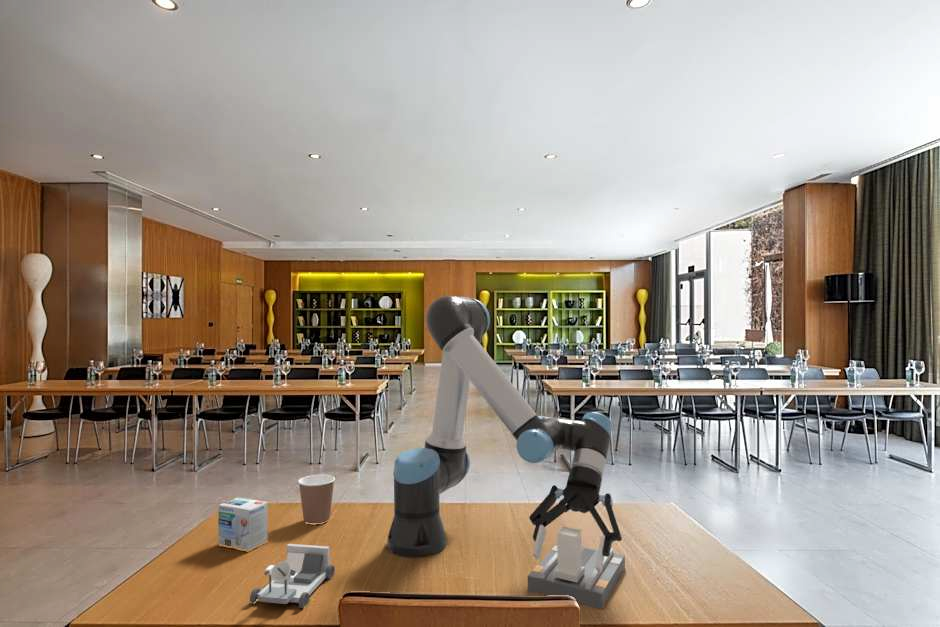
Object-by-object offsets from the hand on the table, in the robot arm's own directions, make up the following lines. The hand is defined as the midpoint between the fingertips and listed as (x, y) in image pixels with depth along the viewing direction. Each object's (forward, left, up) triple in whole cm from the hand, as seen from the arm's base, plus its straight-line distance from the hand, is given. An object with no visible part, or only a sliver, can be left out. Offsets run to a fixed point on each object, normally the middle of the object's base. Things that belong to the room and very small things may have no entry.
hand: (565, 563), depth 112 cm
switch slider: (0, +2, -3) cm, 4 cm away
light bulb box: (-82, -15, -7) cm, 84 cm away
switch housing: (0, +8, -7) cm, 11 cm away
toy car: (-52, -26, -7) cm, 59 cm away
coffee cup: (-77, +6, -7) cm, 78 cm away
